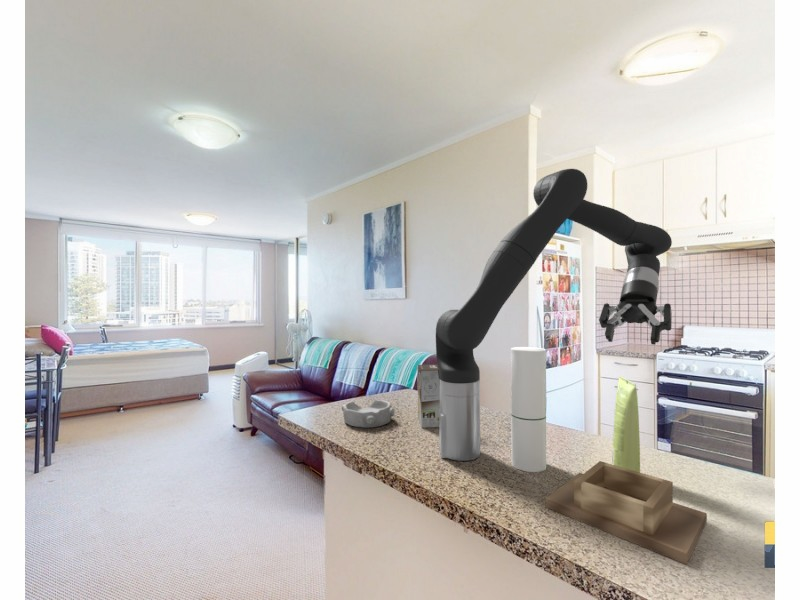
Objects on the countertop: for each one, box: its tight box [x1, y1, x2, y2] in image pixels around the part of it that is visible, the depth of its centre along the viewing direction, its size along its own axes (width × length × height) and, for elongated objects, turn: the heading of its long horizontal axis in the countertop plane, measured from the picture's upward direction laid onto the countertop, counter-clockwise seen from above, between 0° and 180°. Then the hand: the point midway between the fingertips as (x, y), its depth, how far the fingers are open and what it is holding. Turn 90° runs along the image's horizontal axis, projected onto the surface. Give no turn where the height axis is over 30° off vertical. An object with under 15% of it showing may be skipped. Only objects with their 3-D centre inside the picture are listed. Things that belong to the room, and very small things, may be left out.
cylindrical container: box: [510, 346, 547, 473], centre depth 84 cm, size 7×7×25 cm
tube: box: [611, 375, 641, 473], centre depth 79 cm, size 6×5×20 cm
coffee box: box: [416, 363, 440, 429], centre depth 113 cm, size 9×6×16 cm
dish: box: [341, 399, 395, 428], centre depth 115 cm, size 14×14×5 cm
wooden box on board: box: [545, 460, 708, 565], centre depth 65 cm, size 20×14×6 cm
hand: (630, 340), depth 88 cm, fingers open, 8 cm apart
